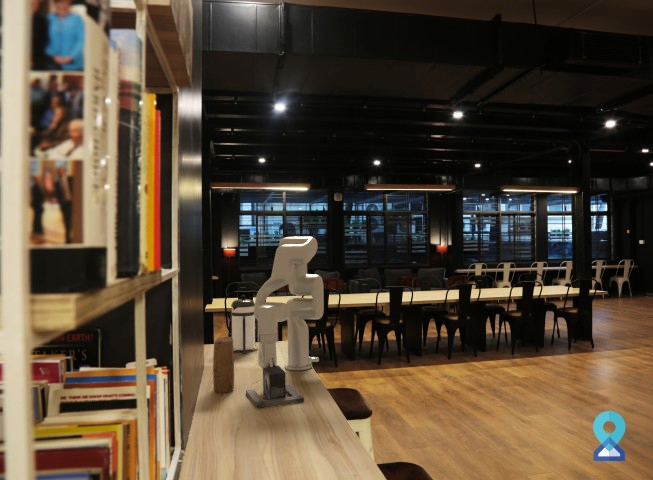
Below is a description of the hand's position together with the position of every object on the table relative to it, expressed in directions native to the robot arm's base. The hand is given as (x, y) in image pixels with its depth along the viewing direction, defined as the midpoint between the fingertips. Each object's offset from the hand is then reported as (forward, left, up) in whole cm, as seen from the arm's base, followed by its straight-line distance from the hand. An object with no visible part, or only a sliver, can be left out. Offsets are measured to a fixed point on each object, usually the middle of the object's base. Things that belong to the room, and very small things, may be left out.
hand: (268, 385), depth 171 cm
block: (+15, -9, -2) cm, 18 cm away
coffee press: (-7, -73, -2) cm, 74 cm away
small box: (0, +8, -2) cm, 9 cm away
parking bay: (0, +8, -2) cm, 9 cm away
